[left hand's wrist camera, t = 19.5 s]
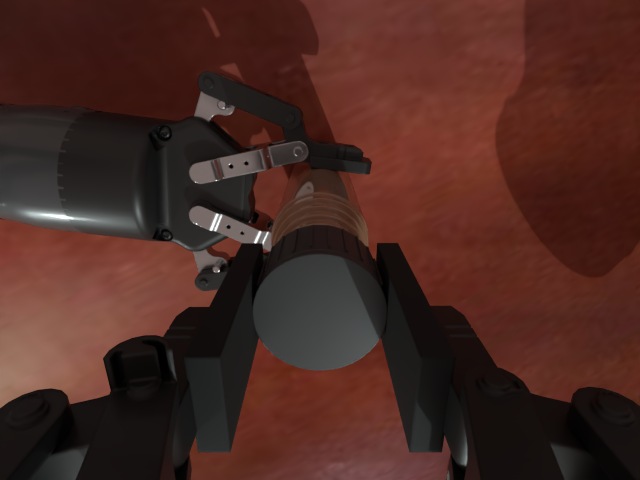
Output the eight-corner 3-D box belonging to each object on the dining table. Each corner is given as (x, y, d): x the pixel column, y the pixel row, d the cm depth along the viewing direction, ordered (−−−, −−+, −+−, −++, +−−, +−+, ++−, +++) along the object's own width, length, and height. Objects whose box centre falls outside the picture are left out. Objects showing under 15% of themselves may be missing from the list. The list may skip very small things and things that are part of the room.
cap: (320, 198, 13) (320, 222, 11) (401, 277, 15) (417, 316, 12) (238, 276, 15) (221, 315, 12) (319, 345, 16) (319, 393, 13)
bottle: (283, 158, 30) (229, 259, 12) (340, 143, 30) (373, 223, 12) (300, 213, 32) (274, 374, 14) (354, 199, 31) (402, 346, 13)
